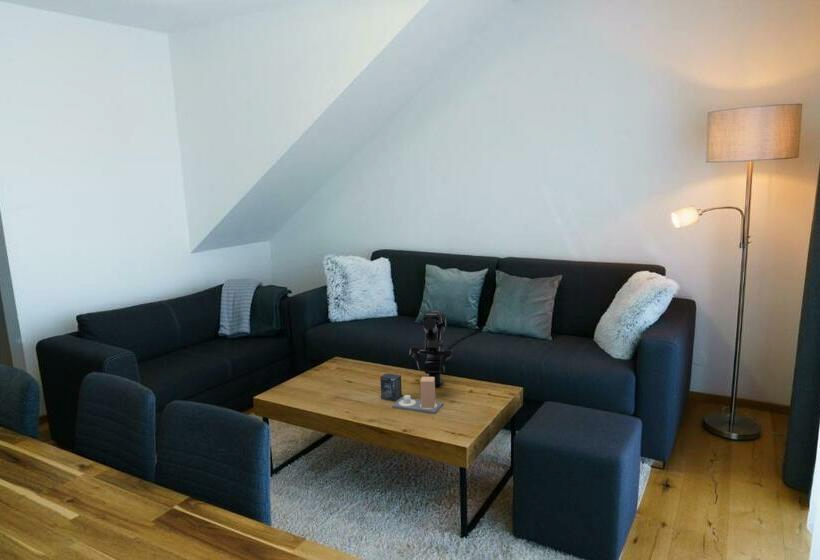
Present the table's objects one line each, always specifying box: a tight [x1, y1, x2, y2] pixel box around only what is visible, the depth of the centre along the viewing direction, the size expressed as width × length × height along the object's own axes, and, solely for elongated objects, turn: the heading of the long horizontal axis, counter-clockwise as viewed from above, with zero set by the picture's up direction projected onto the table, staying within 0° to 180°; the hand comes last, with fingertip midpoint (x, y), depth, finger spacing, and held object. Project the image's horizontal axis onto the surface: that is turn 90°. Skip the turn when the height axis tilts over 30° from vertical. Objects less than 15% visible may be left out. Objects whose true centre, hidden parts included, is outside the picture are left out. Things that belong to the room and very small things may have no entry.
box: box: [379, 372, 403, 402], centre depth 262 cm, size 8×6×11 cm
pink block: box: [419, 376, 436, 408], centre depth 249 cm, size 6×6×12 cm
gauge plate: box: [391, 394, 444, 415], centre depth 252 cm, size 10×20×4 cm, turn 67°
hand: (429, 371), depth 257 cm, fingers open, 9 cm apart
